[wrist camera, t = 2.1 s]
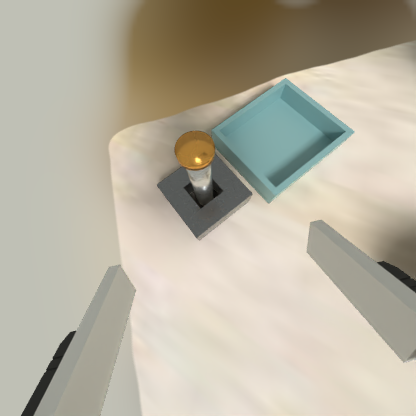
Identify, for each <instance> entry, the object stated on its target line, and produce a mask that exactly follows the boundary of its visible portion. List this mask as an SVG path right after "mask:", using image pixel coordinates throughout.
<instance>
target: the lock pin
mask: <svg viewBox="0 0 416 416" xmlns="http://www.w3.org/2000/svg"><path fill="white" fill-rule="evenodd" d="M175 155H176V157H177V160H178V162H179V163H180V165H181V166H182V167H184V168H185V169H186V170H187V173H188V176H189V178H190V181H191V184H192V187H193V190H194V192H195V195H196V198H197V201H198V202H199V203H200V204H201V205H206V204H208V203H209V202H210V201H212V200H213V185H212V172H211V163H212V162H213V160H214V157H215V144H214V141H213V139H212V138H211V137H210V136H209V135H208V134H206V133H204V132H201V131H190V132H187V133H185V134H183V135H182V136H181V137H180V138H179V139H178V140H177V142H176V144H175Z"/></svg>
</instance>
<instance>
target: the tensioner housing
mask: <svg viewBox="0 0 416 416" xmlns="http://www.w3.org/2000/svg"><path fill="white" fill-rule="evenodd" d="M211 172H212V185H213V188H214V189H215V191H216V192H217V193H218V194H219V195H218V196H217V197H215V198H214V199H213V200H212V201H210V202H209V203H208V204H206V205H205V206H204V207H202V208H201V209H200V207H199V206H198V205H197V204H196V202H195V201H194V200H193V199H192V197H191V196H190V195H189V194H191V193H192V192H193V191H194V190H193V187H192V184H191V181H190V178H189V176H188V173H187V170H186V169H185V168H184V167H181V168H179V169H178V170H177V171H175V172H174V173H172V174H171V175H170V176H168V177H167V178H165V179H164V180H163V181H161V182H160V183H158V184H157V186H158V188H159V189H160V190H161V192H162V193H163V194H164V196H165V197H166V198H167V200H168V201H169V202H170V204H171V205H172V206H173V207H174V209H175V210H176V211H177V213H178V214H179V215H180V217H181V218H182V219H183V221H184V222H185V223H186V225H187V226H188V227H189V229H190V230H191V231H192V233H193V234H194V235H195V237H196V238H197V239H198V240H201V239H202V238H203V237H204V236H206V235H207V234H208V233H210V232H211V231H212V230H213V229H215V228H216V227H217V226H218V225H220V224H221V223H222V222H223V221H225V220H226V219H227V218H228V217H230V216H231V215H232V214H233V213H235V212H236V211H237V210H238V209H240V208H241V207H242V206H244V205H245V204H246V203H247V202H248V201H249V200H250V198H251V196H252V193H251V192H250V191H249V189H248V188H247V187H246V186H245V185H244V184H243V183H242V182H241V181H240V180H239V179H238V178H237V177H236V176H235V174H234V173H233V172H232V171H231V170H230V169H229V168H228V167H227V166H226V165H225V164H224V163H223V162H222V161H221V159H220V158H219V157H218V156H217V155H216V154H215V157H214V160H213V162H212V163H211Z"/></svg>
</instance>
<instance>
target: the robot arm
mask: <svg viewBox="0 0 416 416" xmlns="http://www.w3.org/2000/svg"><path fill="white" fill-rule="evenodd" d="M307 253H308V254H309V255H310V256H311V258H312V259H313V260H314V261H315V262H316V263H317V264H318V266H319V267H320V268H321V269H322V270H323V271H324V272H325V273H326V275H327V276H328V277H329V278H330V279H331V280H332V281H333V283H334V284H335V285H336V286H337V287H338V288H339V289H340V291H341V292H342V293H343V294H344V295H345V296H346V297H347V299H348V300H349V301H350V302H351V303H352V304H353V305H354V307H355V308H356V309H357V310H358V311H359V312H360V313H361V315H362V316H363V317H364V318H365V319H366V320H367V321H368V323H369V324H370V325H371V326H372V327H373V328H374V329H375V331H376V332H377V333H378V334H379V335H380V336H381V337H382V339H383V340H384V341H385V342H386V343H387V344H388V345H389V346H390V348H391V349H392V350H393V351H394V352H395V353H396V354H397V356H398V357H399V358H400V359H401V360H402V361H403V362H409V361H413V360H416V281H415V280H414V279H411V278H410V276H408V275H407V274H406V273H404V272H403V271H401V270H400V269H399V268H397V267H395V266H393V265H391V264H389V263H386V262H384V261H381V262H377V263H376V262H375V261H374V260H373V259H371V258H370V257H369V256H367V255H366V254H365V253H364V252H362V251H361V250H360V249H358V248H357V247H356V246H355V245H353V244H352V243H351V242H349V241H348V240H347V239H346V238H344V237H343V236H342V235H340V234H339V233H338V232H337V231H335V230H334V229H333V228H331V227H330V226H329V225H328V224H326V223H325V222H324V221H322V220H318V221H314V222H310V229H309V237H308V245H307ZM135 292H136V289H135V288H134V286H133V285H132V283H131V281H130V280H129V278H128V277H127V275H126V273H125V272H124V270H123V268H122V267H121V265H116V266H112V267H109V268H108V270H107V272H106V274H105V276H104V278H103V280H102V282H101V284H100V286H99V288H98V290H97V292H96V294H95V296H94V298H93V300H92V302H91V304H90V306H89V307H88V309H87V311H86V313H85V315H84V317H83V319H82V322H81V323H80V325H79V327H78V329H77V331H73V332H70V333H69V334H68V336H67V337H66V338H65V339H64V340H63V342H62V343H61V344H60V346H59V348H58V349H57V351H56V353H55V355H54V356H53V360H52V361H51V362H50V364H49V366H48V368H47V369H46V370H47V371H46V372H45V373H44V375H43V377H42V378H41V380H40V382H39V384H38V386H37V387H36V389H35V391H34V393H33V395H32V397H31V398H30V400H29V402H28V404H27V406H26V408H25V409H24V411H23V413H22V415H21V416H100V415H101V411H102V408H103V404H104V401H105V397H106V393H107V390H108V387H109V383H110V380H111V376H112V373H113V369H114V366H115V362H116V359H117V355H118V352H119V348H120V345H121V341H122V338H123V334H124V331H125V327H126V324H127V320H128V317H129V313H130V310H131V306H132V303H133V299H134V296H135Z"/></svg>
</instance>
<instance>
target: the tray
mask: <svg viewBox="0 0 416 416" xmlns="http://www.w3.org/2000/svg"><path fill="white" fill-rule="evenodd" d="M353 133H354V131H353V130H352V129H351V128H349V127H348V126H347V125H345V124H344V123H343V122H342V121H340V120H339V119H338V118H336V117H335V116H334V115H333V114H331V113H330V112H329V111H327V110H326V109H325V108H324V107H322V106H321V105H320V104H318V103H317V102H316V101H315V100H313V99H312V98H311V97H309V96H308V95H307V94H306V93H304V92H303V91H302V90H300V89H299V88H298V87H297V86H295V85H294V84H293V83H291V82H290V81H289V80H288V79H286V78H285V79H284V80H282V81H281V82H279V83H278V84H276V85H275V86H274V87H272V88H271V89H269V90H268V91H266V92H265V93H264V94H262V95H261V96H259V97H258V98H256V99H255V100H254V101H252V102H251V103H249V104H248V105H246V106H245V107H244V108H242V109H241V110H239V111H238V112H236V113H235V114H234V115H232V116H231V117H229V118H228V119H226V120H225V121H224V122H222V123H221V124H219V125H218V126H216V127H215V128H214V129H212V139H213V141H214V144H215V148H216V149H217V150H218V151H219V152H220V153H221V154H222V155H223V156H224V157H225V158H226V159H227V160H228V161H229V162H230V163H231V165H232V166H233V167H234V168H235V169H236V170H237V171H238V172H239V173H240V174H241V175H242V176H243V177H244V178H245V179H246V180H247V181H248V183H249V184H250V185H251V186H252V187H253V188H254V189H255V190H256V191H257V192H258V193H259V194H260V195H261V196H262V197H263V198H264V199H265V200H266V202H267V203H268V204H269V203H270V202H271V201H272V200H274V199H275V198H276V197H277V196H279V195H280V194H281V193H282V192H284V191H285V190H286V189H287V188H288V187H290V186H291V185H292V184H293V183H295V182H296V181H297V180H298V179H300V178H301V177H302V176H303V175H304V174H306V173H307V172H308V171H309V170H311V169H312V168H313V167H314V166H316V165H317V164H318V163H319V162H320V161H322V160H323V159H324V158H325V157H327V156H328V155H329V154H330V153H332V152H333V151H334V150H335V149H336V148H338V147H339V146H340V145H341V144H342V143H343V142H344V141H346V140H347V139H348V138H349V137H350V136H351V135H352V134H353Z"/></svg>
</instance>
